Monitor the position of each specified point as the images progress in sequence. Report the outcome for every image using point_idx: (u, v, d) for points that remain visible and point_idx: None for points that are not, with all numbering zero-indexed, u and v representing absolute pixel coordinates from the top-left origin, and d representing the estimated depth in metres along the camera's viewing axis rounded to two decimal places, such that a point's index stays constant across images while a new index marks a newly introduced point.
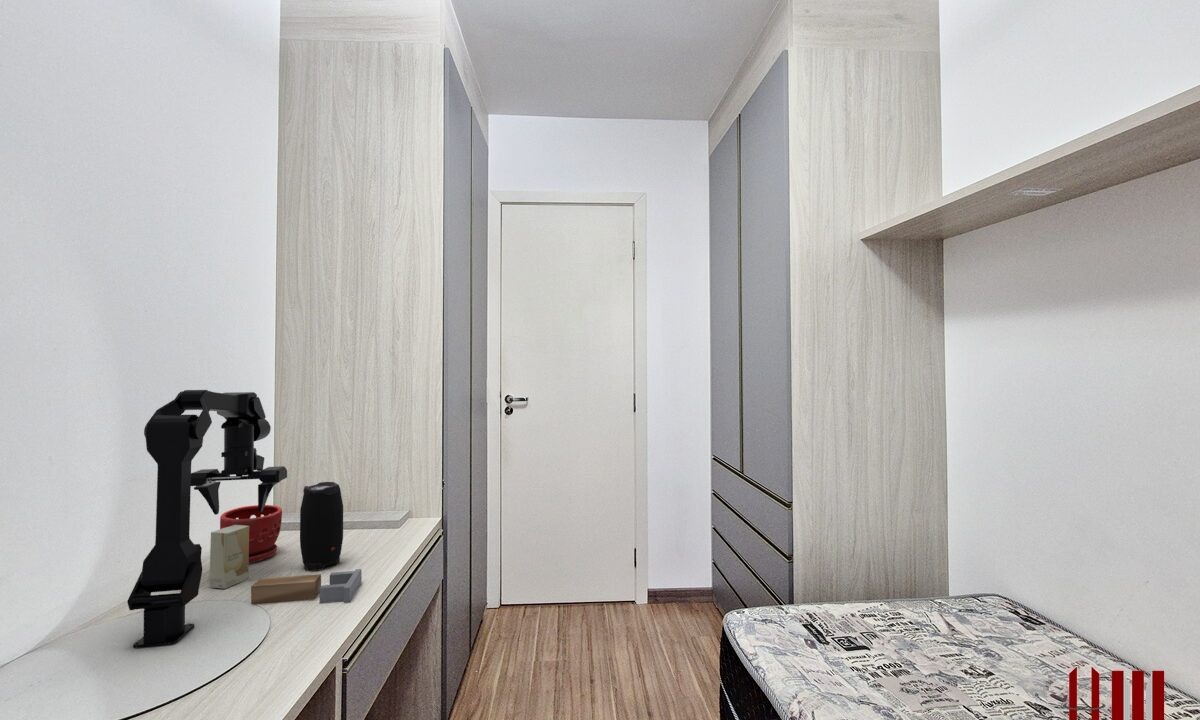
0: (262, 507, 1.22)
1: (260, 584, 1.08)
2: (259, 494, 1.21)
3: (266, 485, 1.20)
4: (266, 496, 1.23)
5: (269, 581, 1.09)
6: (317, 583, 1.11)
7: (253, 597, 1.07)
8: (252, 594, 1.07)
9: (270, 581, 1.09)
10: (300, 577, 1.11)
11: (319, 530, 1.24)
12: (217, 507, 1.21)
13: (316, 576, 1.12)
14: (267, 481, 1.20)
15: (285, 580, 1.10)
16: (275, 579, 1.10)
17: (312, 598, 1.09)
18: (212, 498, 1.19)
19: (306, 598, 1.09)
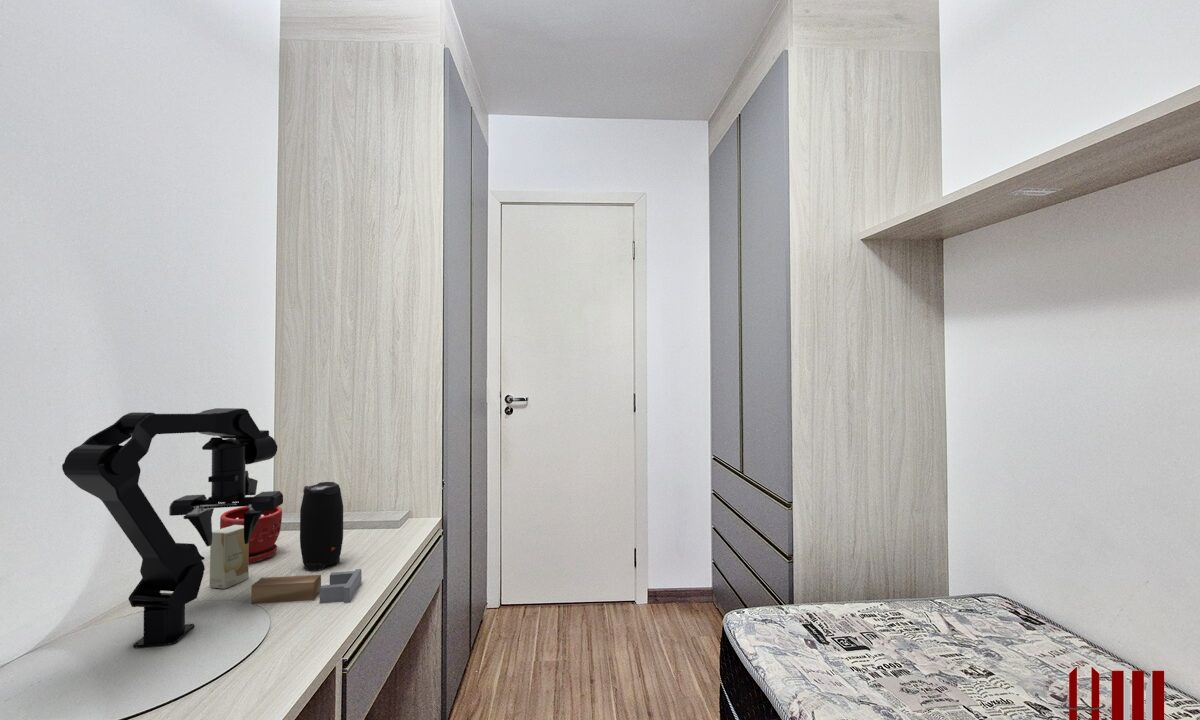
0: (248, 538, 1.08)
1: (260, 584, 1.08)
2: (245, 524, 1.07)
3: (253, 514, 1.06)
4: (253, 525, 1.09)
5: (269, 581, 1.09)
6: (317, 584, 1.11)
7: (253, 596, 1.07)
8: (252, 593, 1.07)
9: (271, 580, 1.09)
10: (300, 577, 1.11)
11: (319, 530, 1.24)
12: (210, 538, 1.07)
13: (316, 577, 1.11)
14: (260, 509, 1.06)
15: (285, 580, 1.10)
16: (276, 579, 1.10)
17: (311, 599, 1.09)
18: (204, 528, 1.06)
19: (305, 599, 1.09)
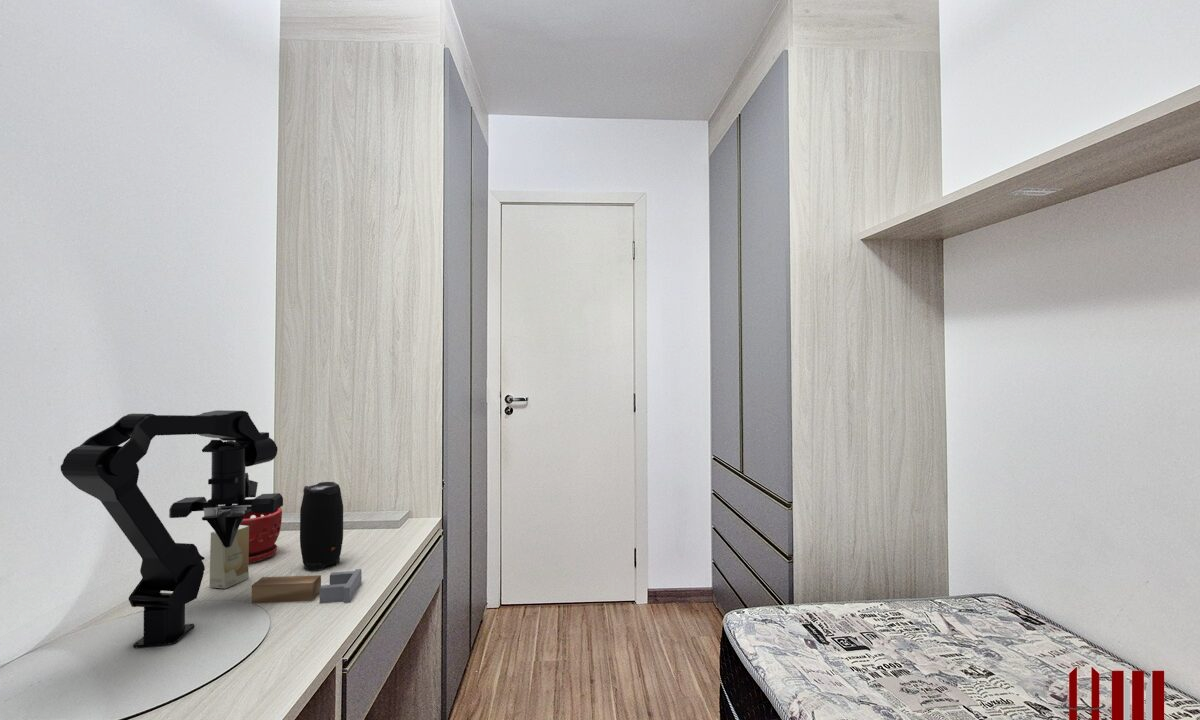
0: (231, 542, 1.07)
1: (260, 583, 1.08)
2: (227, 527, 1.06)
3: (235, 517, 1.05)
4: (235, 529, 1.08)
5: (269, 581, 1.09)
6: (316, 584, 1.10)
7: (253, 596, 1.07)
8: (252, 593, 1.07)
9: (271, 580, 1.10)
10: (300, 577, 1.11)
11: (319, 530, 1.24)
12: None
13: (315, 577, 1.11)
14: (260, 511, 1.06)
15: (285, 580, 1.10)
16: (276, 579, 1.10)
17: (310, 599, 1.08)
18: (222, 529, 1.06)
19: (304, 599, 1.08)
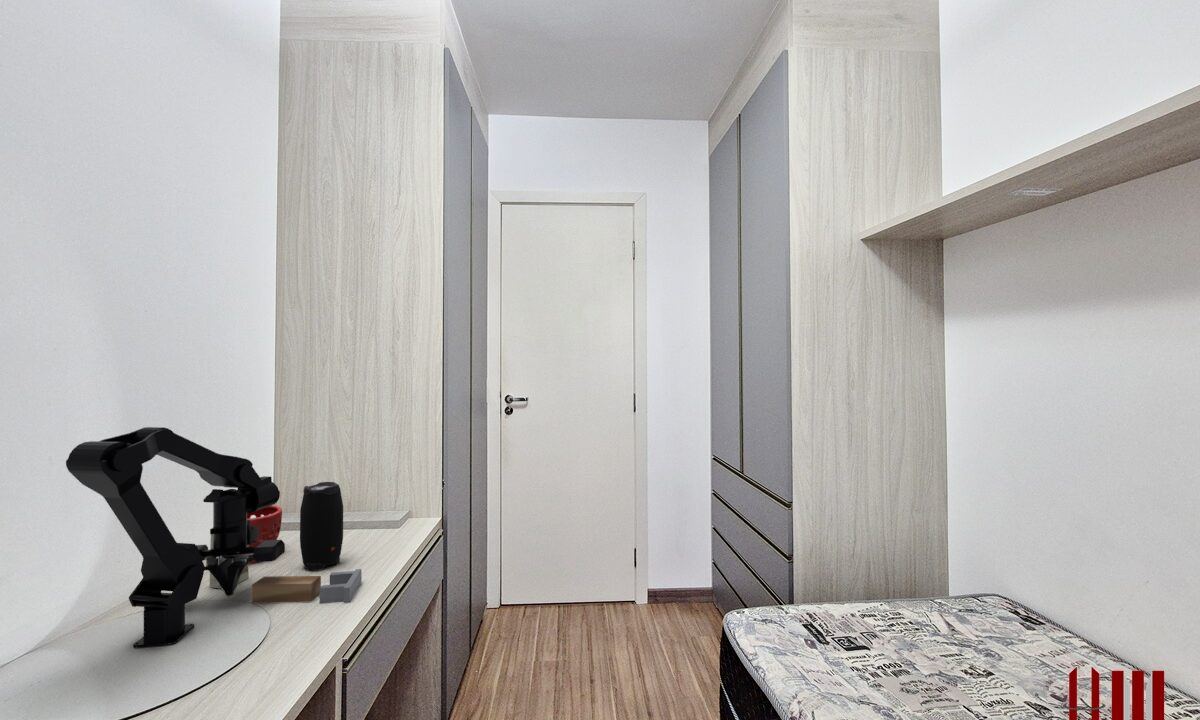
0: (233, 590, 1.08)
1: (261, 583, 1.08)
2: (229, 576, 1.06)
3: (237, 566, 1.05)
4: (237, 577, 1.08)
5: (270, 580, 1.10)
6: (315, 585, 1.10)
7: (254, 595, 1.08)
8: (253, 592, 1.08)
9: (271, 580, 1.10)
10: (300, 578, 1.11)
11: (319, 530, 1.24)
12: None
13: (315, 578, 1.11)
14: (262, 560, 1.06)
15: (285, 580, 1.10)
16: (277, 579, 1.10)
17: (309, 600, 1.08)
18: (224, 578, 1.06)
19: (303, 600, 1.08)
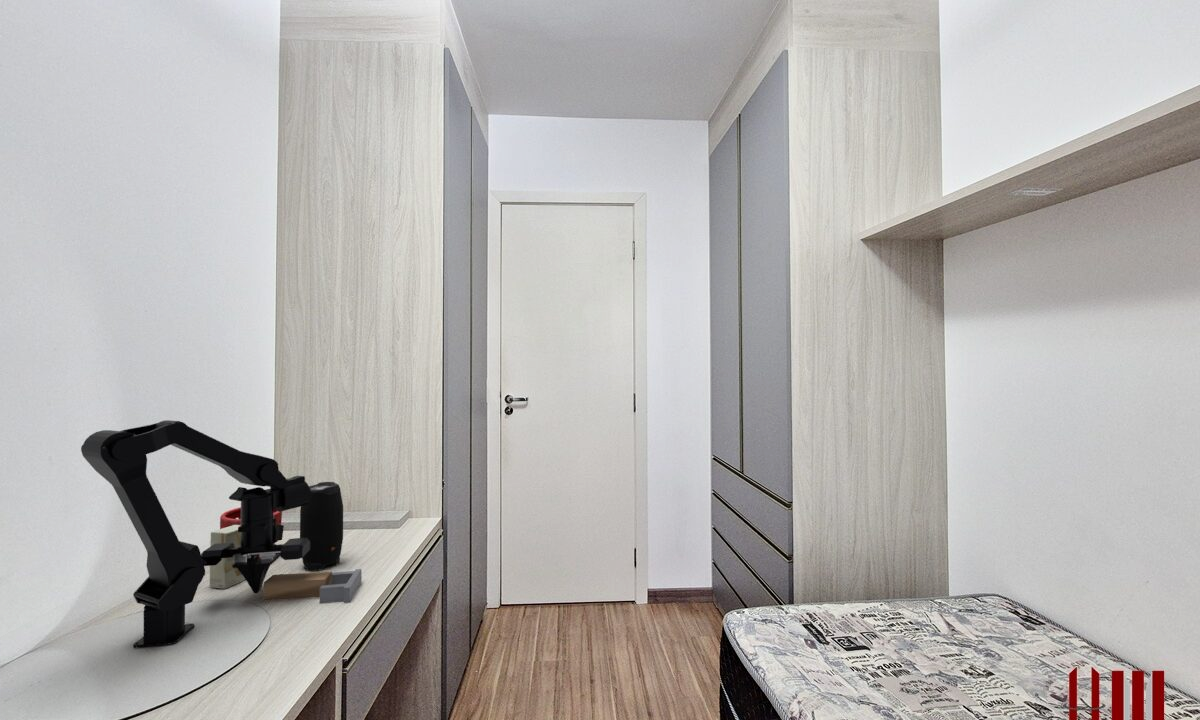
0: (259, 587, 1.09)
1: (272, 580, 1.09)
2: (256, 574, 1.07)
3: (264, 564, 1.06)
4: (264, 574, 1.09)
5: (281, 578, 1.11)
6: (328, 581, 1.12)
7: (265, 593, 1.09)
8: (264, 590, 1.09)
9: (282, 577, 1.11)
10: (311, 574, 1.13)
11: (319, 530, 1.24)
12: None
13: (327, 574, 1.13)
14: (289, 558, 1.07)
15: (297, 577, 1.11)
16: (287, 576, 1.12)
17: None
18: (252, 576, 1.07)
19: (317, 595, 1.10)
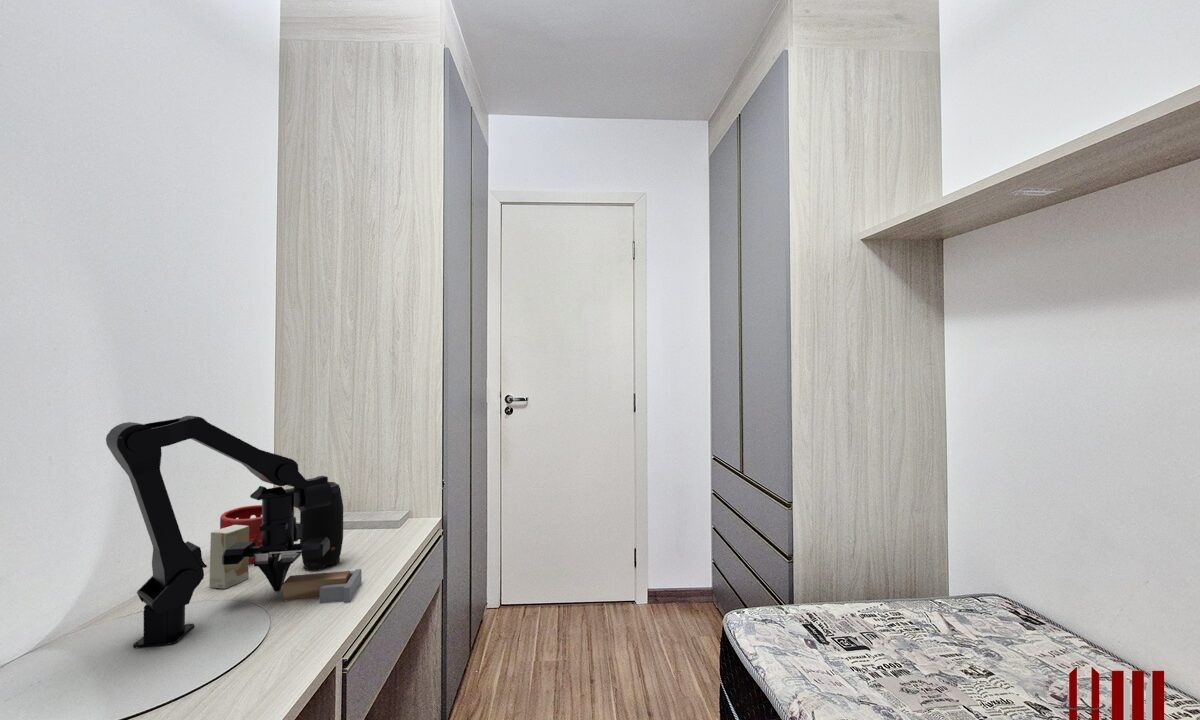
0: (280, 586, 1.09)
1: (291, 581, 1.09)
2: (277, 573, 1.08)
3: (285, 563, 1.07)
4: (285, 573, 1.10)
5: (299, 578, 1.11)
6: (347, 580, 1.13)
7: (285, 594, 1.09)
8: (284, 591, 1.08)
9: (301, 578, 1.11)
10: (330, 574, 1.13)
11: (319, 530, 1.24)
12: None
13: (346, 573, 1.14)
14: (310, 557, 1.08)
15: (316, 577, 1.11)
16: (306, 576, 1.12)
17: None
18: (273, 574, 1.08)
19: None
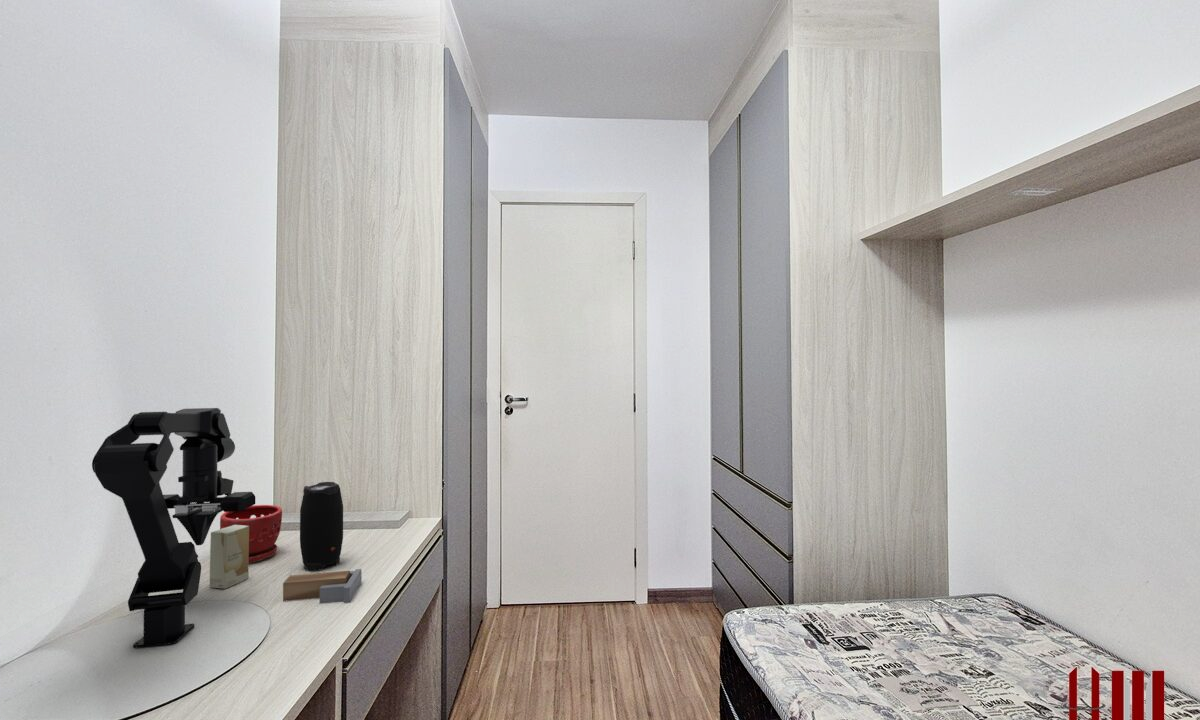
0: (202, 539, 1.07)
1: (291, 581, 1.09)
2: (197, 525, 1.06)
3: (204, 515, 1.05)
4: (207, 527, 1.08)
5: (299, 578, 1.11)
6: (347, 579, 1.13)
7: (285, 594, 1.09)
8: (284, 591, 1.08)
9: (301, 578, 1.11)
10: (330, 574, 1.13)
11: (319, 530, 1.24)
12: None
13: (346, 572, 1.14)
14: (229, 510, 1.06)
15: (316, 577, 1.11)
16: (306, 576, 1.12)
17: None
18: (193, 527, 1.06)
19: None
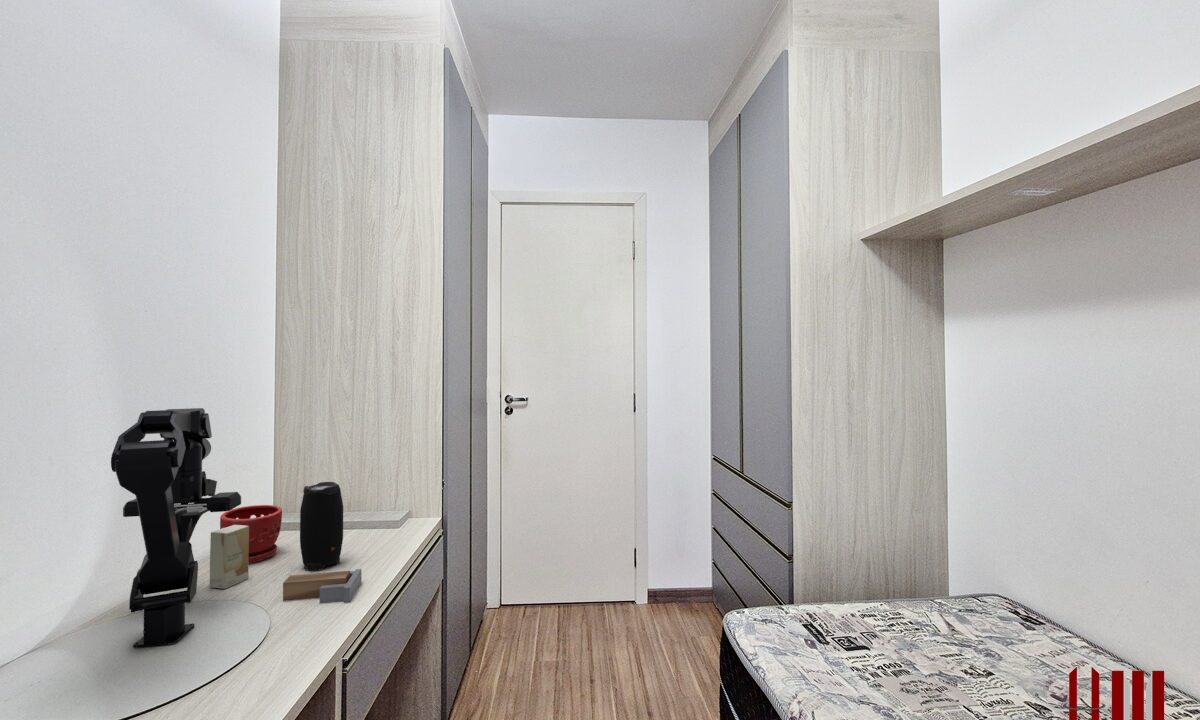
0: (187, 541, 1.07)
1: (291, 581, 1.09)
2: (182, 526, 1.05)
3: (190, 516, 1.05)
4: (192, 528, 1.07)
5: (299, 578, 1.11)
6: (347, 579, 1.13)
7: (285, 594, 1.09)
8: (284, 591, 1.08)
9: (301, 577, 1.11)
10: (330, 574, 1.13)
11: (319, 530, 1.24)
12: None
13: (346, 572, 1.14)
14: (216, 510, 1.05)
15: (316, 577, 1.11)
16: (306, 576, 1.12)
17: None
18: (178, 528, 1.05)
19: None
